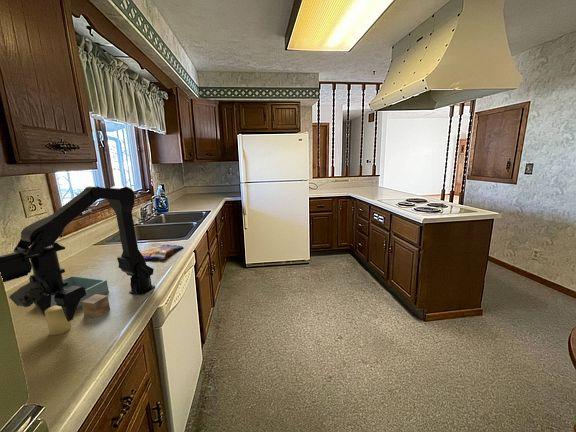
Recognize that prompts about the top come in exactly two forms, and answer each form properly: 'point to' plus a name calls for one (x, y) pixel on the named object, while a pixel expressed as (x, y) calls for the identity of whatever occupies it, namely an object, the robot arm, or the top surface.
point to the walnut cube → (95, 305)
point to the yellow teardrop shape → (56, 320)
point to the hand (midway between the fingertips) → (58, 318)
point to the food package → (160, 252)
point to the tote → (90, 284)
